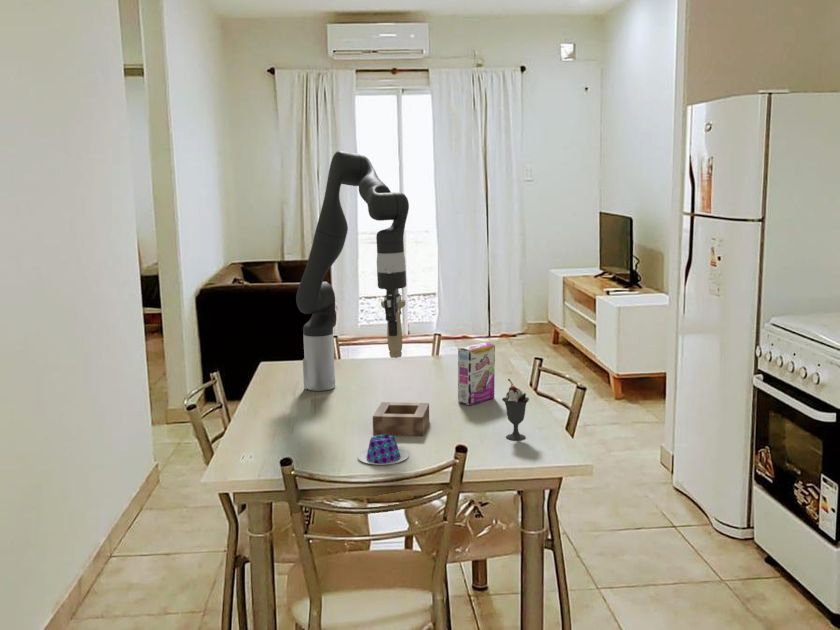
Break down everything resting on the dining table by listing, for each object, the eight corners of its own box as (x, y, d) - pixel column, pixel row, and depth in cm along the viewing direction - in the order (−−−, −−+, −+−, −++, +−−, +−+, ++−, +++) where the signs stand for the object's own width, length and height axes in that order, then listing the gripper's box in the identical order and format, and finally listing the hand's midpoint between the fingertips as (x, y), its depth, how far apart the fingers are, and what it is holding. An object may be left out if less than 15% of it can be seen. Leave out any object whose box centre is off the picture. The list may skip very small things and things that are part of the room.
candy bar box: (470, 406, 241) (469, 350, 238) (457, 403, 245) (456, 347, 242) (495, 398, 249) (495, 343, 246) (483, 395, 252) (482, 341, 250)
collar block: (373, 434, 217) (372, 416, 217) (382, 419, 230) (381, 402, 229) (423, 436, 216) (422, 417, 215) (429, 420, 228) (429, 403, 227)
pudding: (389, 447, 209) (388, 426, 208) (418, 459, 199) (418, 438, 198) (348, 457, 202) (347, 436, 201) (376, 471, 192) (375, 449, 191)
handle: (408, 357, 222) (406, 301, 220) (384, 359, 221) (381, 303, 219) (406, 354, 227) (404, 299, 225) (382, 356, 226) (380, 300, 224)
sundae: (501, 433, 216) (501, 376, 214) (527, 433, 216) (527, 376, 213) (503, 441, 210) (502, 383, 207) (530, 441, 210) (530, 383, 207)
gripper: (381, 267, 228) (384, 329, 231) (372, 273, 214) (375, 339, 217) (409, 266, 227) (411, 329, 230) (401, 272, 213) (404, 339, 216)
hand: (394, 333), depth 223 cm, fingers closed on handle, 4 cm apart
